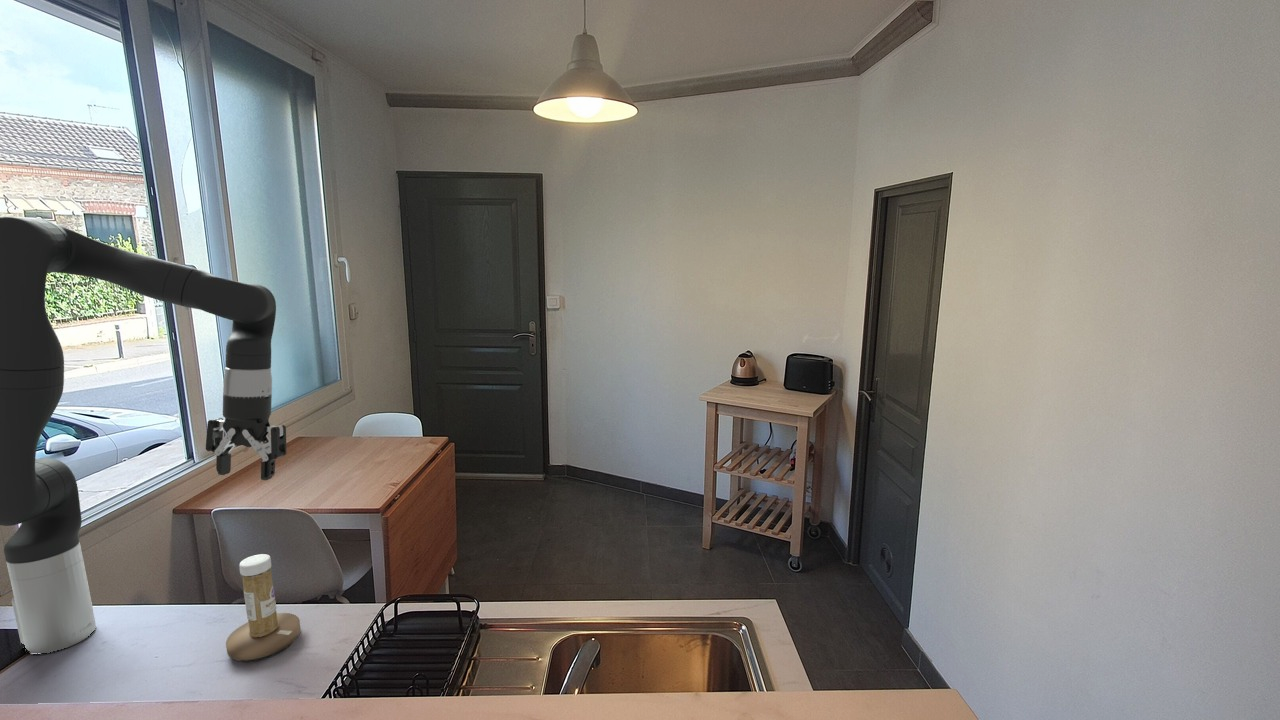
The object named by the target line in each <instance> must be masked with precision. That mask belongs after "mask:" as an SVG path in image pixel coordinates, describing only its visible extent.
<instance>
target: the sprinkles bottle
mask: <svg viewBox="0 0 1280 720" xmlns="http://www.w3.org/2000/svg"><path fill="white" fill-rule="evenodd" d="M271 558H272V557H271V556H270V555H269V554H265V553H260V554H255V555H251V556H248V557H246V558H244V559H242V560H241V561H240V562H239V566H238V567H239V574H240V575H241V578H242V585H243V586H242V587H243V597H244V603H245V611H246V617H247V622H249V629H250V630H249V635H250V636H252V637H262V636H266V635H268V634H270V633H272V632H274V631H275V630H276V629H277V628H278V626H279V622H278V620H277V613H278V612H277V604H276V603H277V602H276V595H275V588H274V584H273V577H272V576H273V574H272V559H271Z"/></svg>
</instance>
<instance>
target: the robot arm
mask: <svg viewBox="0 0 1280 720" xmlns="http://www.w3.org/2000/svg"><path fill="white" fill-rule="evenodd" d="M51 273H59V274H66V275H75V276H80V277H88V278H92V279H97V280H101V281H104V282H108V283H111V284H114V285H116V286H120V287H122V288H124V289H127V290H129V291H132V292H134V293H136V294H139V295H141V296H144V297H147V298H151V299H153V300H157V301H161V302H165V303H169V304H173V305H176V306H182V307H184V308H185V307H186V308H190V309H195V310H199V311H203V312H205V313H209V314H212V315H214V316H217V317H220V318H223V319H227V320H230V321H232V327H231V334H230V336H229V338H228V339H227V341H226V345H225V364H224V365H225V366H224V367H225V369H224V375H223V381H222V382H223V383H222V385H223V388H222V390H223V391H222V417H219V418H217V417H216V418H213V419H209V420H207V424H206V425H207V426H206V427H207V428H206V436H205V437H206V440H205V450H206V451H207V452H212V453H213V454H214V455H215V456H216V463H215V464H216V466H215V467H216V468H215V469H216V472H217V474H218V475H220V476H225V475H228V474H230V472H231V470H232V469H231V465H232V453H230V452H231V451H232V450H233V449H234V448H235V447H236V446H243V447H246V448H247V447H248V448H252V449H253V451H254V452H256V453H258V455H259V457H260V458H261V459H262V461H261V462H260V480H261V481H264V482H265V481H267V480H268V481H269V480H271V479H272V478H273V476H275V473H276V460H277V459H280V458H282V457H285V456H287V428H286V425H285V424H280V425H271V424H270V421H269V419H270V417H271V415H272V400H273V399H272V396H273V395H272V394H273V377H272V338H273V334H274V328H275V323H276V315H277V314H276V313H277V301H276V298H275V296H274V294H273V293H272V291H271V290H270V289H269V288H268V287H265V286H263V285H261V284H257V283H256V284H255V283H245V282H240V281H235V280H232V279H229V278H223V277H221V276H215V275H214V274H212V273H210V272H209V271H204V270H202V269H198V268H194V267H191V266H187V265H184V264H179V263H176V262H172V261H168V260H165V259H160V258H158V257H157V258H156V257H152V256H149V255H145V254H141V253H137V252H134V251H129V250H126V249H122V248H119V247H116V246H113V245H110V244H108V243H104V242H102V241H99V240H96V239H93V238H92V237H89V236H86V235H85V234H81V233H79V232H77V231H75V230H72V229H69V228H67V227H66V226H62V225H60V224H58V223H55V222H53V221H51V220H48V219H45V218H40V217H33V216H32V217H30V216H11V215H10V216H7V215H5V216H0V526H2V527H10V526H15V525H19V524H20V525H19V527H18V529H17V530H16V532H15V533H14V534H13V535H12V536H11V537H10V538H9V539H8V540H7V542H5V544H4V546H3V554H4V558H5V562H6V566H7V571H8V575H9V581H10V584H11V588H12V594H13V597H12V598H11V605H12V610H13V613H14V617H15V623H16V628H17V632H18V635H19V640H20V644H21V643H22V644H24V645H25V648H26V649H27V650H28V651H30V652H32V653H37V654H38V653H47V654H50V652H51V653H54V652H53V651H55V652H58V651H57V650H59V651H61V649H62V650H64V648H65V649H66V648H69V647H72V646H74V645H76V644H79V643H80V642H82V641H84V640H86V639H87V638H88V636H89V637H90V636H91V635H92V634H93V633H94V632H95V631H96V629H97V624H96V618H95V613H94V608H93V607H94V606H93V603H92V598H91V593H90V592H91V591H90V588H89V582H88V576H87V572H86V568H85V567H86V566H85V561H84V556H83V553H82V547H81V543H80V537H79V533H80V531H81V527H82V523H83V522H82V521H83V520H82V511H81V502H80V494H79V489H78V488H79V487H78V484H77V480H76V477H75V475H74V473H73V471H72V470H71V468H70V467H69V466H68V465H67V464H66V463H64V462H62V461H61V460H59V459H56V458H50V457H42V458H37V459H36V455H37V447H38V444H39V441H40V438H41V435H42V433H44V432H43V431H44V430H45V428H46V426H47V424H48V422H49V421H50V419H51V418H52V416H53V414H54V412H55V410H56V409H57V407H58V406H59V405H58V404H59V403H60V400H61V399H62V397H63V396H62V395H63V393H64V392H63V391H64V387H65V357H64V356H65V355H64V351H63V347H62V345H61V342H60V340H59V337H58V335H57V334H56V331H55V329H54V327H53V326H52V324H51V322H50V320H49V317H48V314H47V310H46V309H47V308H46V283H47V276H48V274H51ZM224 432H225V433H226V434H225V436H224V435H223V434H224ZM223 436H224V437H223ZM261 443H262V444H261ZM95 628H96V629H95ZM94 630H95V631H94ZM93 631H94V632H93ZM92 632H93V633H92ZM91 633H92V634H91ZM90 634H91V635H90ZM26 649H25V650H26Z"/></svg>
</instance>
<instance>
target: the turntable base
mask: <svg viewBox="0 0 1280 720" xmlns="http://www.w3.org/2000/svg"><path fill="white" fill-rule="evenodd" d="M293 643H294V641H293V642H292V643H291V644H289V645H288V646H286V647H285V648H283V649H281V650H279V651H277V652H275V653H273V654H270V655H268V656H265V657H261V658H257V659H252V660H238V661H240V662H243V663H255V662H259V661H260V662H261V661H264V660H267V659H269V658H272V657H275V656H277V655H279V654H280V653H282V652H284V651H285V650H287V649H288V648H289V647H290V646H292V644H293Z"/></svg>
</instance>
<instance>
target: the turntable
mask: <svg viewBox="0 0 1280 720" xmlns="http://www.w3.org/2000/svg"><path fill="white" fill-rule="evenodd" d="M276 613H277V620H278V622H279V626H278V628H277V629H276V630H275V631H274V632H272V633H270V634H268V635H266V636H262V637H252V636H250V635H249V630H250V629H249V622H248V621H247V622H246V623H244V624H242V625H241V626H239V627H237V628H236V629H235V630H233V631H232V632H231V633H230V634H229V635H228V637H227V639H226V641H225V648H226V653H227V656H228V657H229V658H231V659H233V660H237V661H239V660H252V659H257V658H261V657H265V656H268V655H270V654H273V653H275V652H277V651H279V650H281V649H283V648H285V647H286V646H288V645H289V644H291V643H292V642H293V643H294V641H295V640H296V639H297V638H298V637H299V635H300V633H301V630H302V629H301V622H300V618H299V616H298V615H296V614H293V613H290V612H279V613H278V612H276ZM293 643H292V644H293ZM292 644H291V645H292Z"/></svg>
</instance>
